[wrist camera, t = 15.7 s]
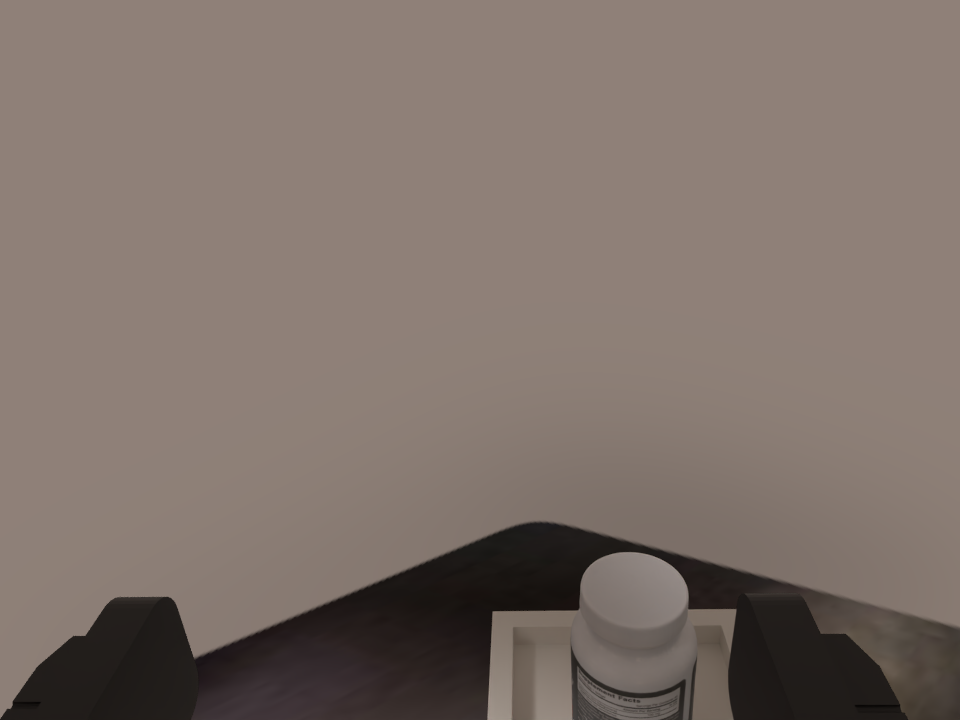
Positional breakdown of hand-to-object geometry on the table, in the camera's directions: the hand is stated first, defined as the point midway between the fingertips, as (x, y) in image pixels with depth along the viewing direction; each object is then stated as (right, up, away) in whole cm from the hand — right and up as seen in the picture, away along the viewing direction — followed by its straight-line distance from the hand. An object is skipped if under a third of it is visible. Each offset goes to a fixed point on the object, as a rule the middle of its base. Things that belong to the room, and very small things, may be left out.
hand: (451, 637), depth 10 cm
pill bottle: (+8, -15, +26) cm, 31 cm away
